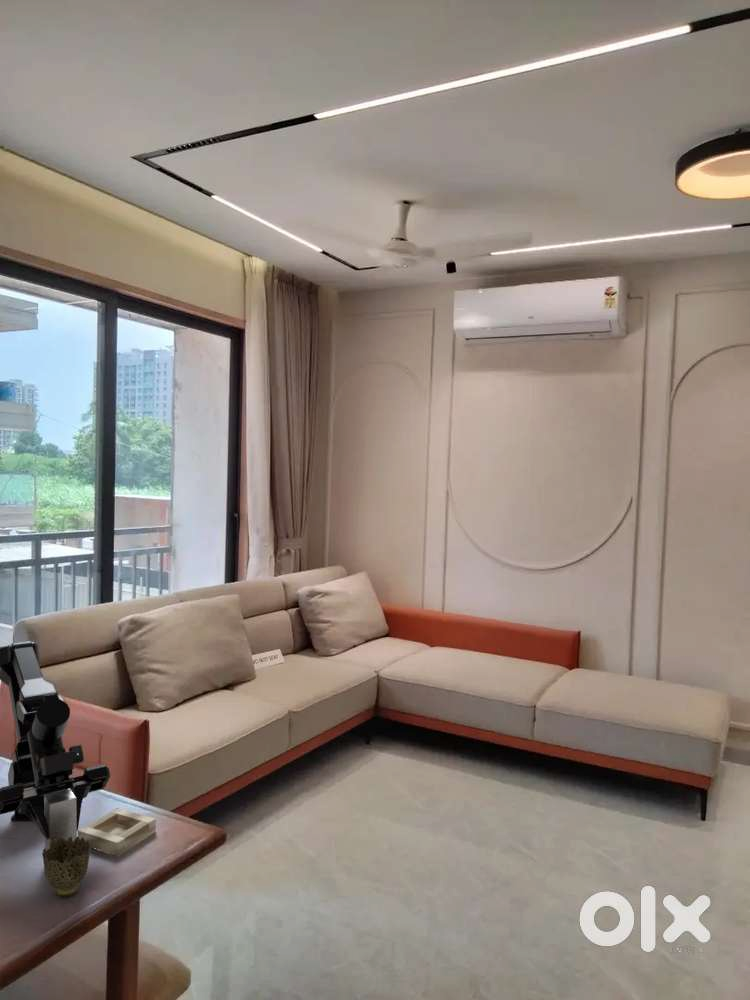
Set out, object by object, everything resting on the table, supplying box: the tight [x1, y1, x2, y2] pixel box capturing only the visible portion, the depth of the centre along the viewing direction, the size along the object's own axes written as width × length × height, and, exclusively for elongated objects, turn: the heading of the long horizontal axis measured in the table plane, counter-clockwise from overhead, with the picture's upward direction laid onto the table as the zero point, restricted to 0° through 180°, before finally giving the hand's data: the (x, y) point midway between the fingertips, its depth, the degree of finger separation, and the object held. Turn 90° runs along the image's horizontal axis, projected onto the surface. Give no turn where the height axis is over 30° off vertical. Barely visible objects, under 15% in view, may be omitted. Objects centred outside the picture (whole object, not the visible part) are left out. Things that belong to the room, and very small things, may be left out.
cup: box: [41, 836, 91, 899], centre depth 123 cm, size 8×7×8 cm
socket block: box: [77, 807, 157, 857], centre depth 141 cm, size 10×10×3 cm
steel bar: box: [44, 789, 78, 851], centre depth 130 cm, size 4×4×13 cm
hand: (62, 834), depth 129 cm, fingers closed on steel bar, 4 cm apart
